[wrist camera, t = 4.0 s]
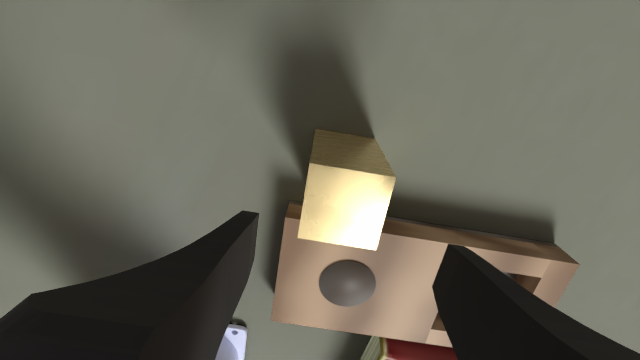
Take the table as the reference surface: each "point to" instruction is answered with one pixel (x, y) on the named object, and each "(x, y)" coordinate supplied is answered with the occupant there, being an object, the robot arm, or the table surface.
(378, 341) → the hardcover book
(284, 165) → the table surface
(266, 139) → the table surface
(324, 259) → the bore block
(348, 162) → the brass peg
